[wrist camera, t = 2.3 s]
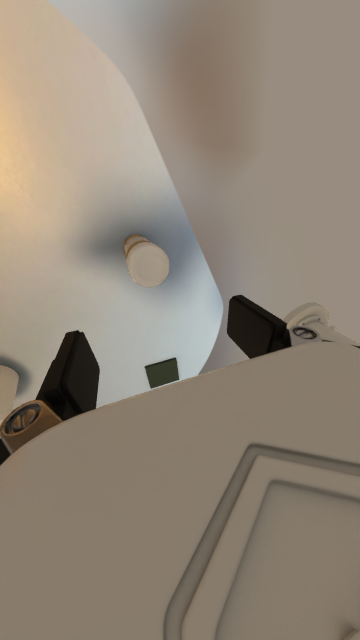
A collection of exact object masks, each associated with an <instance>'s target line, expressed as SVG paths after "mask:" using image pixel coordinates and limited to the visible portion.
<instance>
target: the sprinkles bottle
mask: <svg viewBox="0 0 360 640" xmlns="http://www.w3.org/2000/svg"><path fill="white" fill-rule="evenodd" d="M123 250H124V254H125V257H126V260H127V268H128V272H129V274H130V276H131V278H132V279H133V280H134V281H135V282H136V283H138V284H139V285H141V286H145V287H153V286H157V285H159V284H161V283H162V282H163V281H164V280H165V279H166V277H167V275H168V273H169V269H170V263H169V259H168V257H167V255H166V253H165V252H164V251H163V250H162V249H161V248H160V247H159V246H157V245H155V244H153V243H151V242H150V241H148V240H147V239H146V238H144V237H143V236H141V235H131V236H129V237H128V238H127V239H126V240H125V242H124V246H123Z"/></svg>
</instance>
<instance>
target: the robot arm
mask: <svg viewBox="0 0 360 640" xmlns="http://www.w3.org/2000/svg"><path fill="white" fill-rule="evenodd" d="M286 327H287V323H286V322H284V321H283V320H281V319H279V318H278V317H276V316H275V315H273V314H271V313H270V312H268V311H266V310H265V309H263V308H262V307H260V306H259V305H257V304H255V303H254V302H252V301H250V300H249V299H247V298H245V297H244V296H243V295H237V296H233V297H232V298H231V299H230V301H229V313H228V324H227V334H228V335H229V337H230V338H231V339H232V340H233V341H234V342H235V343H236V344H237V345H238V346H239V347H240V349H242V351H243V352H244V353H245V354H246V355H247V356H248V357H249V358H250V359H249V360H246V361H243V362H239V363H236V364H233V365H230V366H227V367H223V368H220V369H217V370H214V371H211V372H207V373H204V374H201V375H198V376H195V377H192V378H188V379H185V380H182V381H179V382H176V383H173V384H170V385H166V386H163V387H160V388H157V389H154V390H151V391H148V392H145V393H142V394H139V395H135V396H132V397H129V398H126V399H123V400H120V401H117V402H114V403H111V404H108V405H105V406H102V407H99V408H97V409H96V401H97V392H98V382H99V373H100V369H99V365H98V363H97V361H96V358H95V356H94V354H93V352H92V350H91V347H90V345H89V343H88V341H87V339H86V337H85V334H84V333H83V332H79V331H78V330H77V331H72V332H68V333H66V334H65V337H64V339H63V341H62V344H61V346H60V348H59V351H58V353H57V355H56V358H55V360H53V361H52V363H51V366H50V368H49V370H48V372H47V375H46V377H45V379H44V382H43V384H42V386H41V388H40V391H39V393H38V395H37V397H36V400H33V401H29V402H27V403H25V404H22V405H21V406H19V407H18V408H16V409H15V410H13V411H12V412H11V413H10V414H9V415H8V416H7V417H6V418H5V419H4V420H3V422H2V424H1V425H0V640H360V344H359V343H357V342H355V341H353V340H351V339H349V338H347V337H346V336H344V335H342V334H340V333H338V332H336V331H334V330H336V327H335V326H331V327H328V326H326V325H324V320H323V319H322V318H321V317H320V316H318V315H311V316H307V317H305V318H303V319H302V320H300V321H299V322H298V323H297V324H296V325H295V326H292V327H290V328H289V329H287V328H286Z"/></svg>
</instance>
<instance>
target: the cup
mask: <svg viewBox="0 0 360 640" xmlns="http://www.w3.org/2000/svg"><path fill="white" fill-rule="evenodd" d="M18 381H19V376H18V374H17V373H16V372H15V371H14V370H13V369H11V368H9V367H6V366H3V365H0V425H1V424H2V422H3V420H4V419H5V418H6V417H7V416H8V415H9V414H10V413H11V412H12V409H13V404H14V400H15V395H16V391H17V386H18Z"/></svg>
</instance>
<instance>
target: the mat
mask: <svg viewBox="0 0 360 640" xmlns="http://www.w3.org/2000/svg"><path fill="white" fill-rule="evenodd" d="M145 369H146V373H147V376H148V380H149V384H150V387H151V388H155V387H158V386H161V385H164V384H167V383H170V382H173V381H177V380H179V376H178V368H177V361H176V358H173V359H169V360H166V361H163V362H159V363H156V364H152V365H149V366H145Z"/></svg>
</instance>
